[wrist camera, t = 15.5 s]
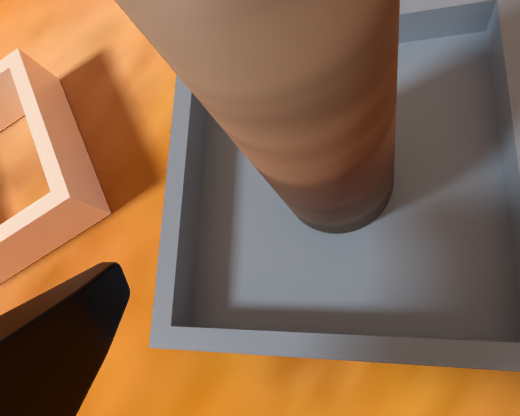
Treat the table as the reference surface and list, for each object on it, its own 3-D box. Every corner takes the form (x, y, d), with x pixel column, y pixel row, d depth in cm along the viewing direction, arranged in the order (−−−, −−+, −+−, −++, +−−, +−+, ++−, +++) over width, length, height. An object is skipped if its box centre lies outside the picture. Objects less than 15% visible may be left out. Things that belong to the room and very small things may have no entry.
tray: (540, 365, 15) (577, 375, 12) (184, 344, 18) (149, 347, 16) (498, 30, 18) (519, -23, 15) (206, 70, 22) (180, 33, 19)
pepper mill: (359, 253, 16) (283, 69, 4) (265, 203, 18) (35, -27, 6) (414, 157, 16) (474, -243, 5) (317, 116, 18) (191, -256, 7)
